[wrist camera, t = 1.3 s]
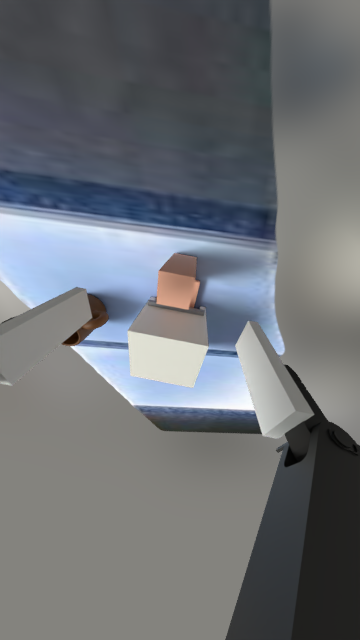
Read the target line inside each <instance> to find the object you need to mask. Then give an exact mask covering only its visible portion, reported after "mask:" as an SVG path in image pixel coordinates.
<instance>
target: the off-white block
mask: <svg viewBox="0 0 360 640" xmlns="http://www.w3.org/2000/svg"><path fill="white" fill-rule="evenodd" d="M156 302H157V301H156V298H154V297H150V299H149V300H148V302H147V303H146V305H145V306H144V307H143V309H142V310H141V312H140V313H139V315H138V316H137V318H136V319H135V321H134V322H133V324H132V325H131V327H130V328H129V330H128V343H129V358H130V374H131V376H135V377H140V378H145V379H150V380H155V381H160V382H165V383H170V384H176V385H181V386H186V387H191V388H193V387H194V384H195V381H196V379H197V376H198V373H199V371H200V368H201V365H202V363H203V360H204V357H205V355H206V352H207V349H208V347H209V345H208V333H207V320H206V308H205V307H201V306H200V308H199V309H196V308H191V307H189V310H187V309H181V308H176V307H171V306H166V305H161V304H156Z"/></svg>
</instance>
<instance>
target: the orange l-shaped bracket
mask: <svg viewBox="0 0 360 640" xmlns="http://www.w3.org/2000/svg"><path fill="white" fill-rule="evenodd" d="M196 264H197V257H193V256H188V255H182V254H177V253H174V254H173V255H172V257H171V258H170V259H169V260H168V261H167V262H166V263H165V264H164V265H163V267H162V268H161V269H160V270H159V274H158V288H157V302H156V304H161V305H166V306H171V307H176V308H181V309H187V310H189V307H191V308H194V305H195V301H196V297H197V293H198V289H199V285H200V281H198V280H195V278H196Z"/></svg>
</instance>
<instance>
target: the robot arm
mask: <svg viewBox="0 0 360 640" xmlns="http://www.w3.org/2000/svg"><path fill="white" fill-rule="evenodd" d="M91 318H92V314H91V309H90V305H89V300H88V296H87V291H86V289H83V288H78V287H76V288H74V289H72V290H70V291H68V292H66V293H64V294H62V295H59V296H57V297H55V298H53V299H51V300H49V301H47V302H45V303H43V304H41V305H39V306H37V307H35V308H33V309H31V310H29V311H27V312H25V313H23V314H21V315H19V316H16V317H13V318H10V319H8V320H6V321H4V322H2V323H1V324H0V383H1V384H6V385H11V386H12V385H13V384H14V383H15V382H17V381H18V380H19V379H20V378H21V377H23V376H24V375H25V374H26V373H27V372H28V371H30V370H31V369H32V368H33V367H35V366H36V365H37V364H38V363H39V362H40V361H42V360H43V359H44V358H45V357H46V356H48V355H49V354H50V353H51V352H52V351H53V350H55V349H56V348H57V347H58V346H59V345H61V344H62V343H63V342H64V341H65V340H66V339H68V338H69V337H70V336H71V335H72V334H74V333H75V332H76V331H77V330H78V329H79V328H81V327H82V326H83V325H84V324H85V323H87V322H88V321H89V320H90V319H91ZM235 346H236V350H237V353H238V356H239V359H240V363H241V366H242V369H243V373H244V376H245V379H246V382H247V386H248V389H249V392H250V395H251V399H252V402H253V405H254V408H255V412H256V415H257V418H258V422H259V425H260V428H261V431H262V435H263V436H266V437H271V438H276V439H278V438H280V437H281V436H283V435H284V434H285V436H286V439H287V441H288V442H287V443H285V444H283V445H282V446H280V447H278V448H277V450H276V451H277V452H280V451H282V450H283V452H282V455H281V458H280V462H279V465H278V468H277V471H276V475H275V478H274V482H273V485H272V488H271V491H270V495H269V498H268V501H267V505H266V508H265V511H264V514H263V517H262V521H261V524H260V527H259V531H258V534H257V537H256V541H255V544H254V547H253V550H252V554H251V557H250V560H249V564H248V567H247V570H246V573H245V577H244V580H243V583H242V587H241V590H240V593H239V597H238V600H237V603H236V606H235V610H234V613H233V616H232V620H231V623H230V626H229V630H228V633H227V636H226V639H225V640H360V446H359V445H357V444H356V442H355V441H354V440H353V439H352V438H351V436H349V434H348V433H347V432H345V431H344V430H343V429H342V428H340V427H339V426H337V425H336V424H334V423H332V422H329V421H328V420H327V419H326V418H325V416H324V414H323V413H322V411H321V410H320V408H319V407H318V405H317V404H316V402H315V401H314V399H313V398H312V396H311V395H310V393H309V392H308V391H307V390H306V387H305V386H304V384H303V383H301V380H300V378H299V377H298V375H297V374H296V373H295V372H294V371H293V370H292V369H291V368H290V367H289V366H288V365H284V364H283V363H282V361H281V359H280V358H279V356H278V354H277V353H276V351H275V350H274V348H273V346H272V345H271V343H270V341H269V340H268V338H267V337H266V335H265V333H264V332H263V330H262V329H261V327H260V325H259V324H258V322H253V321H248V322H247V324H246V326H245V328H244V330H243V332H242V334H241V336H240V337H239V339H238V341H237V343H236V345H235Z"/></svg>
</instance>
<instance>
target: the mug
mask: <svg viewBox="0 0 360 640" xmlns="http://www.w3.org/2000/svg"><path fill="white" fill-rule="evenodd" d="M87 296H88V300H89V305H90V309H91V314H92V318H91V319H90V320H89V321H88V322H87V323H85V324H84V325H83V326H82V327H81V328H79V329H78V330H77V331H76V332H75V333H74V334H72V335H71V336H70V337H69V338H68V339H66V340H65V341H64V342H63V343H62V344H63V345H66V346H75V345H77V344H79V343H80V342H81V341H83V340H84V339H85V338H86V337H87V336H88V335H89V334H90V333H91V332H92V331H93V330H94V329H96V328H99V327H101V326H102V325H104V324H105V323H106V322H107V321H108V319H109V315H108V314H107V313H106V308H105V306H104V304H103V303H102V302H101V301H100V300H99V299H98V298H96V297H94V296H92V295H89V294H87Z"/></svg>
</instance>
